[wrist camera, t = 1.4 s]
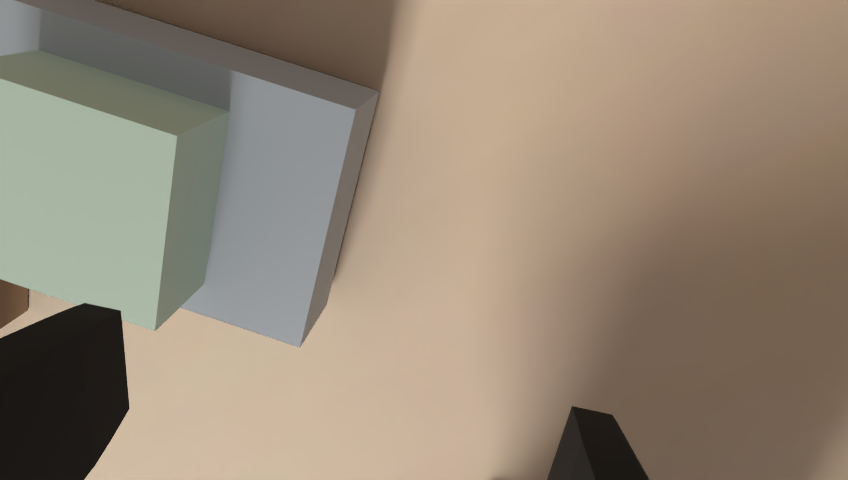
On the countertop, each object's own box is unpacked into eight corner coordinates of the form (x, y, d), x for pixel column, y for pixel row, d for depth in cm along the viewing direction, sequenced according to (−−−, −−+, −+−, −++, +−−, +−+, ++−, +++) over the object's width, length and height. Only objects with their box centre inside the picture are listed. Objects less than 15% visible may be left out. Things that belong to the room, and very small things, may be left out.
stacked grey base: (383, 88, 18) (323, 135, 13) (331, 297, 21) (265, 402, 16) (48, -19, 18) (-139, -14, 13) (43, 201, 21) (-111, 275, 16)
